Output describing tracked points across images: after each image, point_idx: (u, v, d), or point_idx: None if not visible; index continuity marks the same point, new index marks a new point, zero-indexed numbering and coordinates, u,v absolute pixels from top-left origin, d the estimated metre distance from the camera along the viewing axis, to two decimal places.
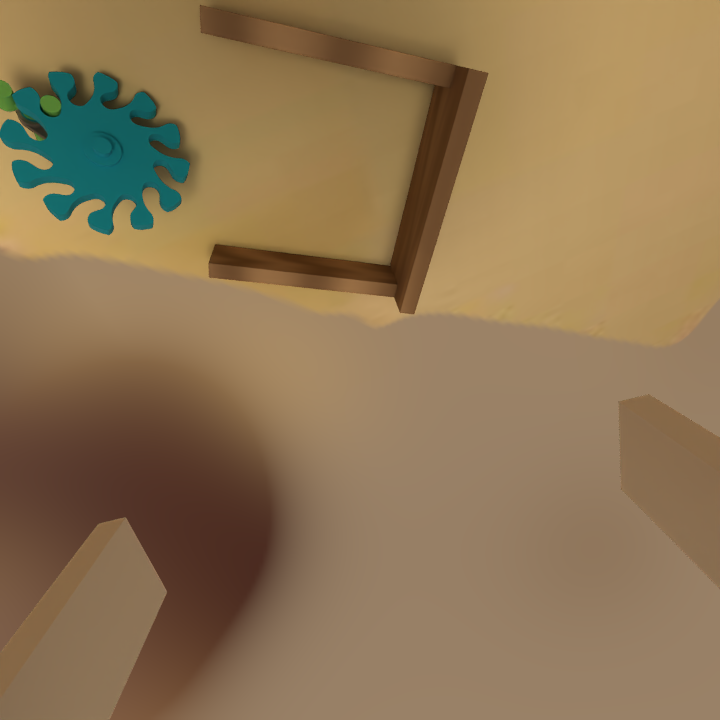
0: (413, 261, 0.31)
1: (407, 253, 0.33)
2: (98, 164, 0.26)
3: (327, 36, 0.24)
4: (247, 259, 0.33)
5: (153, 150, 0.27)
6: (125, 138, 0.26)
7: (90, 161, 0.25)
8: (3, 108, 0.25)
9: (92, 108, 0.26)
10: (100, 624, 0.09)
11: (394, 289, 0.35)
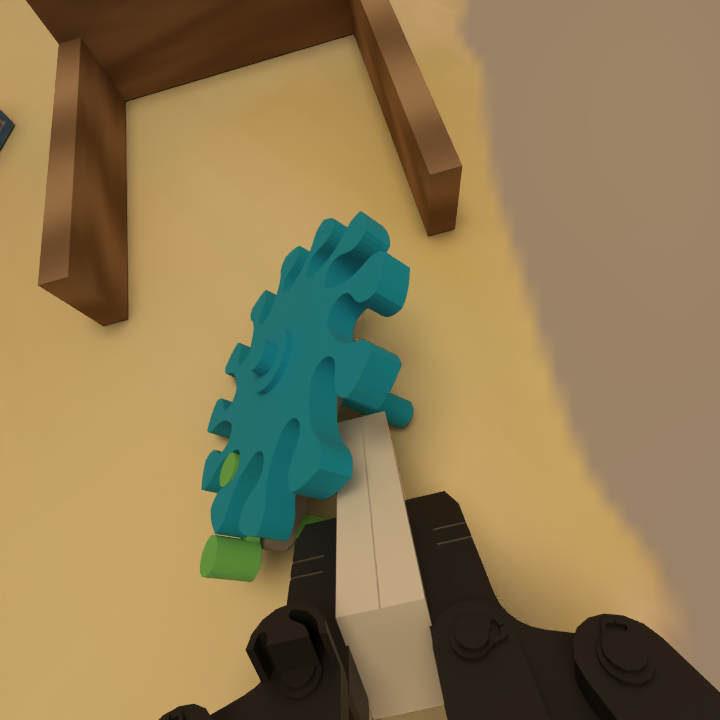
0: None
1: None
2: (287, 351, 0.12)
3: (50, 153, 0.18)
4: (410, 153, 0.18)
5: (274, 306, 0.15)
6: None
7: (286, 366, 0.12)
8: (253, 562, 0.11)
9: (234, 411, 0.14)
10: None
11: None
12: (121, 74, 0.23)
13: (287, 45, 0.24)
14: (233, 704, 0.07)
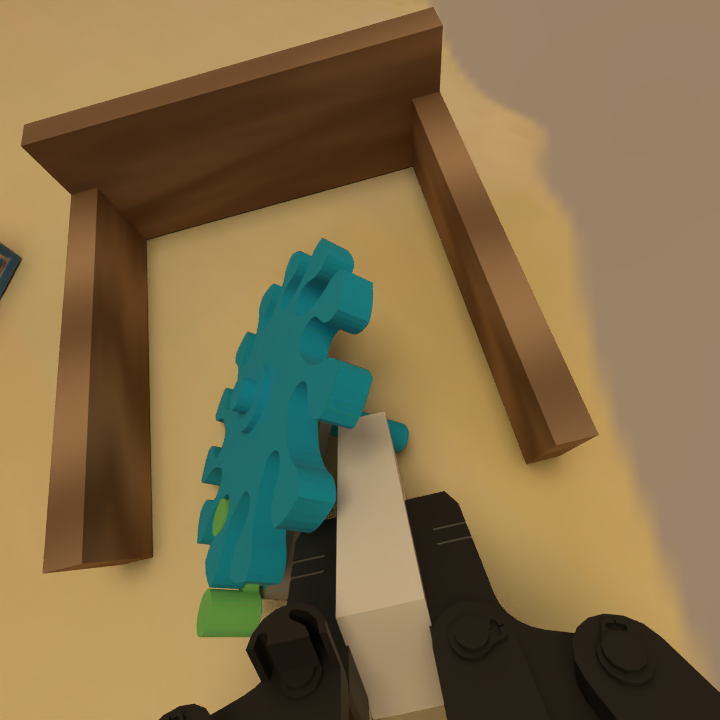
0: (329, 64, 0.16)
1: (342, 108, 0.17)
2: (266, 385, 0.12)
3: (60, 358, 0.15)
4: (510, 373, 0.14)
5: (254, 345, 0.15)
6: None
7: (265, 400, 0.11)
8: (252, 613, 0.11)
9: (223, 456, 0.13)
10: None
11: (423, 98, 0.17)
12: (143, 216, 0.20)
13: (336, 180, 0.21)
14: (233, 704, 0.07)
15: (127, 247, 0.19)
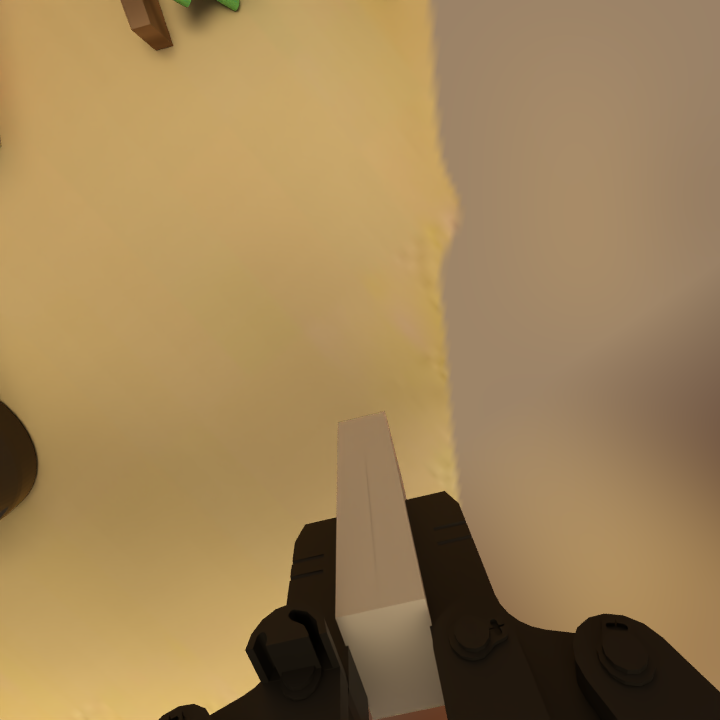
0: None
1: None
2: None
3: None
4: None
5: None
6: None
7: None
8: None
9: None
10: None
11: None
12: None
13: None
14: (233, 704, 0.07)
15: None
